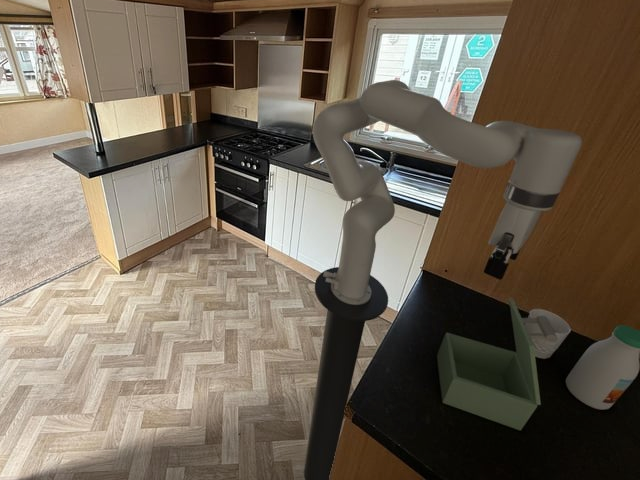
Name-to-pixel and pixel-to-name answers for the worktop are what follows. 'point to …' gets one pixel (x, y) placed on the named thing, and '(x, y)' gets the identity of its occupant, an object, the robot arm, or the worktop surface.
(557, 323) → the white cup
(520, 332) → the lid
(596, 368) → the milk bottle
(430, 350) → the worktop surface
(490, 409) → the chest
